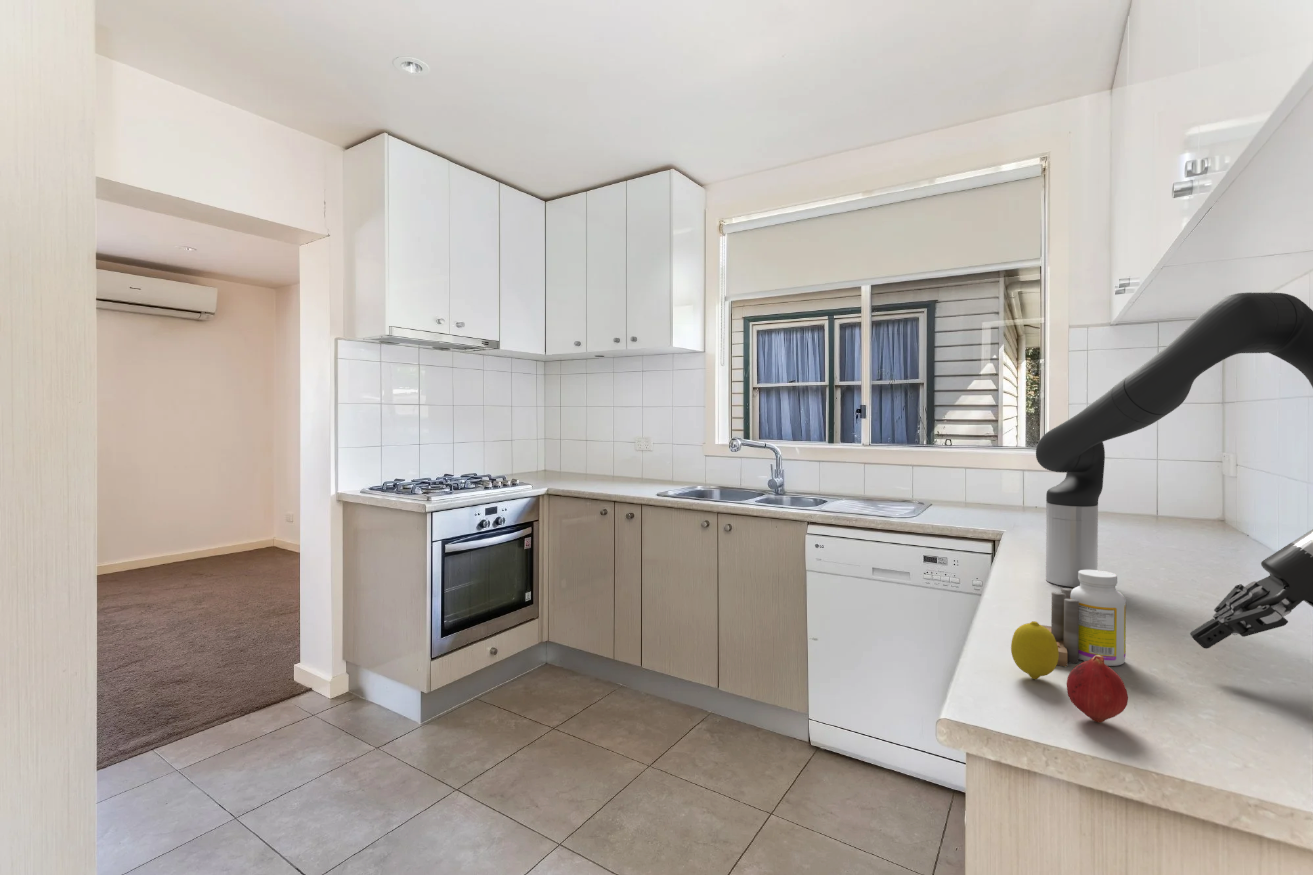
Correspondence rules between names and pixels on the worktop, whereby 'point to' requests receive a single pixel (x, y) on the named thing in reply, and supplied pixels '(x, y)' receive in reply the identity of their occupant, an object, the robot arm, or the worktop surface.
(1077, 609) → the pin block
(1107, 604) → the supplement bottle
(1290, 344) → the robot arm
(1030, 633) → the lemon
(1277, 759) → the worktop surface
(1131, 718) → the worktop surface
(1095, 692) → the onion
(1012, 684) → the worktop surface
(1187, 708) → the worktop surface
